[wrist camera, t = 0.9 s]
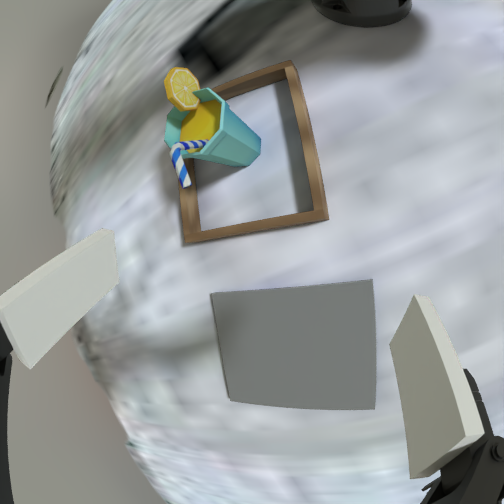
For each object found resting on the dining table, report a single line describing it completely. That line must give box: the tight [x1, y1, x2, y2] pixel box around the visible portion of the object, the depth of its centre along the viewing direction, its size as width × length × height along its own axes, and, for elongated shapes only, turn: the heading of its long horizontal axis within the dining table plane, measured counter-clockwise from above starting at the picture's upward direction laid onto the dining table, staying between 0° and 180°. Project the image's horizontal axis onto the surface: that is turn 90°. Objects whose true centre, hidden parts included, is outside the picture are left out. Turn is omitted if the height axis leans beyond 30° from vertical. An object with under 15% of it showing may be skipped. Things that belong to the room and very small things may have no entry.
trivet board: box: [212, 279, 376, 410], centre depth 32 cm, size 16×20×1 cm
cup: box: [164, 67, 261, 189], centre depth 27 cm, size 14×8×15 cm, turn 19°
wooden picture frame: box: [178, 60, 329, 243], centre depth 33 cm, size 20×18×2 cm
